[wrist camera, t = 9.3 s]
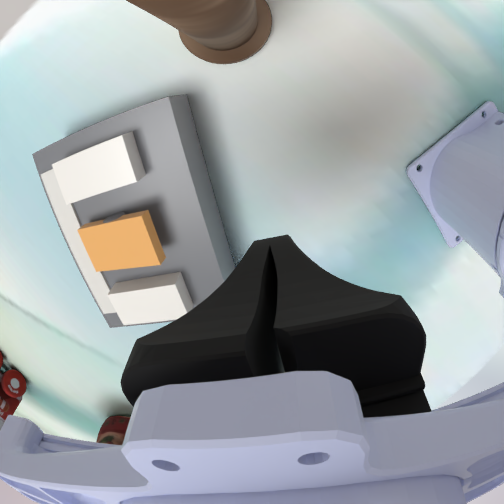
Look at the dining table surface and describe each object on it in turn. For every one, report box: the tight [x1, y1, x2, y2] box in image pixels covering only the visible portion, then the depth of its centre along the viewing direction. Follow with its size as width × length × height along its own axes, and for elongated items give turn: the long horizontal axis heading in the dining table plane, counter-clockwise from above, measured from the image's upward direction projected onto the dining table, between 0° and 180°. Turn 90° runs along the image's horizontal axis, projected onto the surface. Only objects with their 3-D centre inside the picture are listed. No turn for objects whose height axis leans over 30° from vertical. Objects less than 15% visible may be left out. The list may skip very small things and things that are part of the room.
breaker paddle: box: [77, 210, 166, 272], centre depth 18 cm, size 5×3×2 cm, turn 103°
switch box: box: [32, 95, 235, 328], centre depth 20 cm, size 10×14×5 cm
